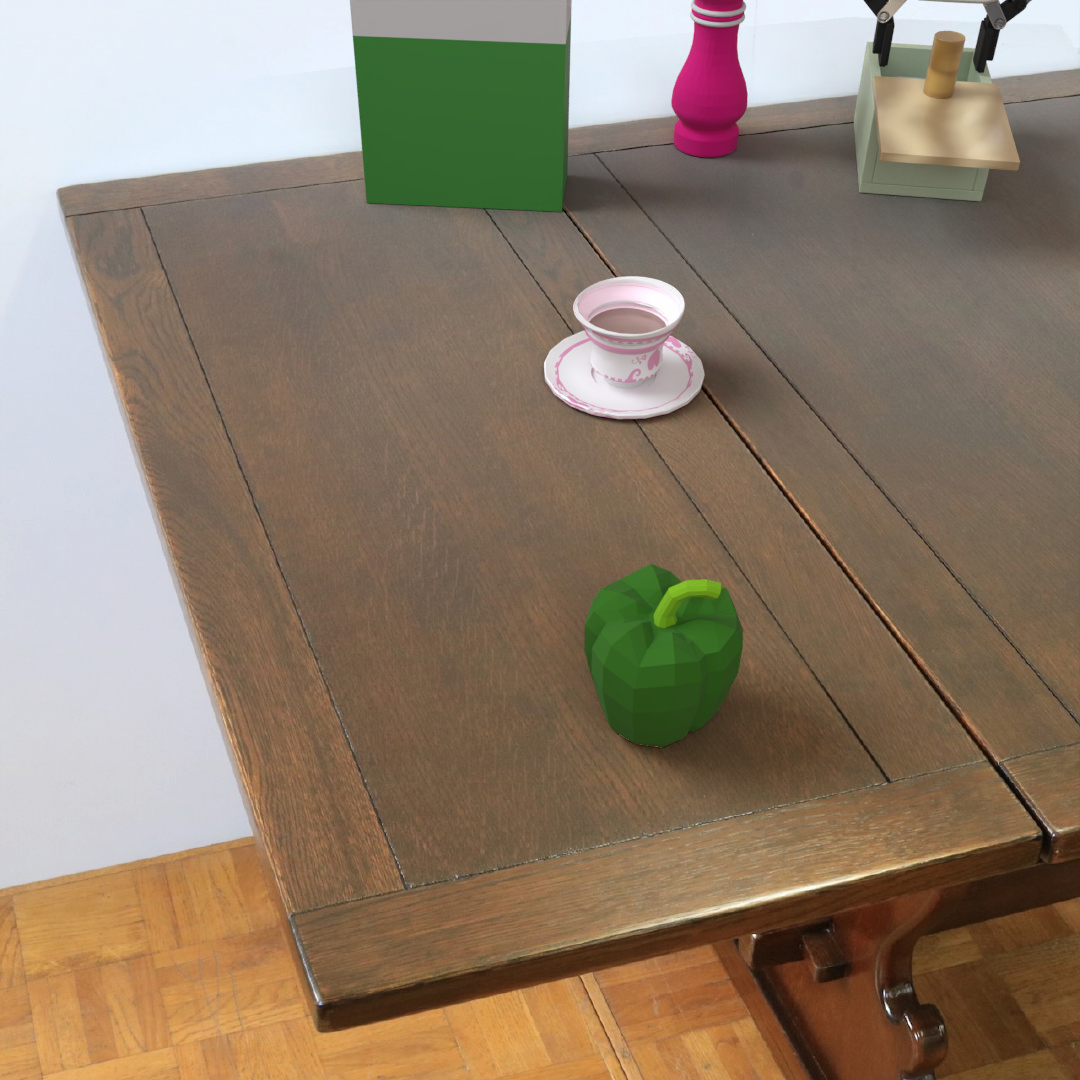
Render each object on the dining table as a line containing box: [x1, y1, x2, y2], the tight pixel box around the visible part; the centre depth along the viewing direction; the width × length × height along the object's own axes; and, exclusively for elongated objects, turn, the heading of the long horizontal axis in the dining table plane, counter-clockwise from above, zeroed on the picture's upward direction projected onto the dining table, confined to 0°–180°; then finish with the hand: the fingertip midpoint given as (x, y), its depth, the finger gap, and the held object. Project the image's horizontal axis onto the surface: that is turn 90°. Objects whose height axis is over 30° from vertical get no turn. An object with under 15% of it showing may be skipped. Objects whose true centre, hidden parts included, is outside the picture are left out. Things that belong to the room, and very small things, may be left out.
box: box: [853, 41, 993, 202], centre depth 125 cm, size 11×16×8 cm
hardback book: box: [349, 0, 572, 213], centre depth 114 cm, size 18×7×24 cm, turn 85°
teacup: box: [543, 275, 706, 420], centre depth 97 cm, size 12×12×6 cm
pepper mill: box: [670, 0, 749, 158], centre depth 123 cm, size 7×7×20 cm
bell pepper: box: [583, 563, 744, 748], centre depth 71 cm, size 8×8×10 cm
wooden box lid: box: [872, 30, 1021, 172], centre depth 112 cm, size 11×16×6 cm
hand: (930, 63), depth 124 cm, fingers open, 8 cm apart
